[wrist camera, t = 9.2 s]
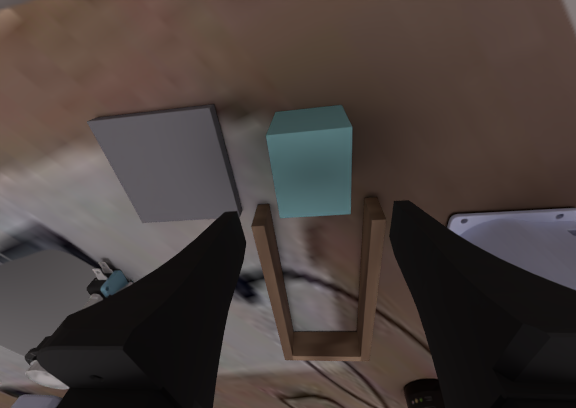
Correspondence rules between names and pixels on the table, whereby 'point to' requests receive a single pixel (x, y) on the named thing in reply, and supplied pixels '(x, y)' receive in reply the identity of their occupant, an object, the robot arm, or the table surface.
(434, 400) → the supplement bottle
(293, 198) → the block
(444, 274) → the robot arm
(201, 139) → the pad
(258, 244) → the channel
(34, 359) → the push button
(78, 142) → the table surface
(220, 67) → the table surface
